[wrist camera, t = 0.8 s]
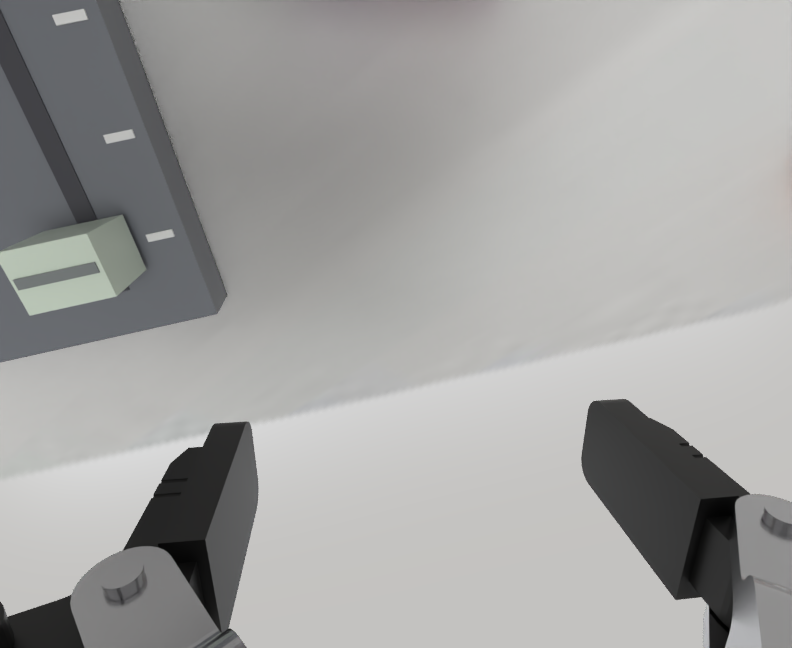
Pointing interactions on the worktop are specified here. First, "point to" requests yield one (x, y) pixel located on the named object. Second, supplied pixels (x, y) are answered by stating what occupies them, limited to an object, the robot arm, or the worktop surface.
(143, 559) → the robot arm
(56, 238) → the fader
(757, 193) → the worktop surface
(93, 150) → the fader board
